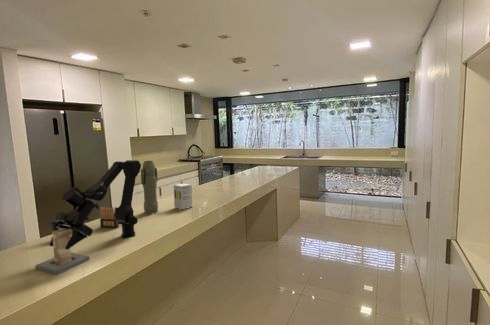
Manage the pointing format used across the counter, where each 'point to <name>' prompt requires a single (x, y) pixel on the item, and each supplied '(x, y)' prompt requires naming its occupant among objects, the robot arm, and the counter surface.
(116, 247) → the counter surface
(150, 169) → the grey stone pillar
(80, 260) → the socket board
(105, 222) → the ammunition clip
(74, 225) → the robot arm
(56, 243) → the maple peg
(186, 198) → the supplement box
